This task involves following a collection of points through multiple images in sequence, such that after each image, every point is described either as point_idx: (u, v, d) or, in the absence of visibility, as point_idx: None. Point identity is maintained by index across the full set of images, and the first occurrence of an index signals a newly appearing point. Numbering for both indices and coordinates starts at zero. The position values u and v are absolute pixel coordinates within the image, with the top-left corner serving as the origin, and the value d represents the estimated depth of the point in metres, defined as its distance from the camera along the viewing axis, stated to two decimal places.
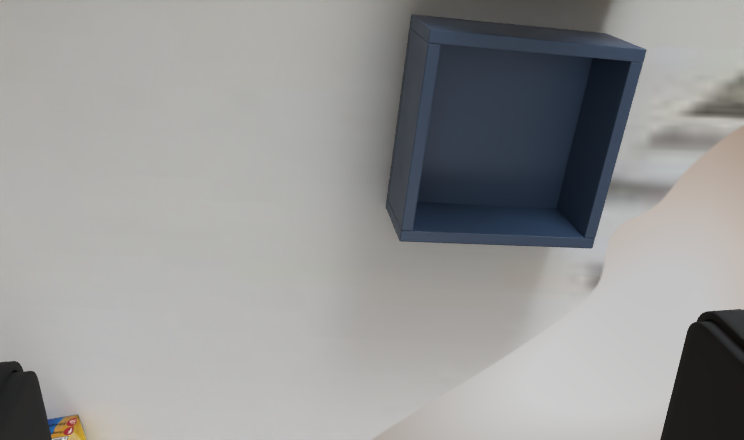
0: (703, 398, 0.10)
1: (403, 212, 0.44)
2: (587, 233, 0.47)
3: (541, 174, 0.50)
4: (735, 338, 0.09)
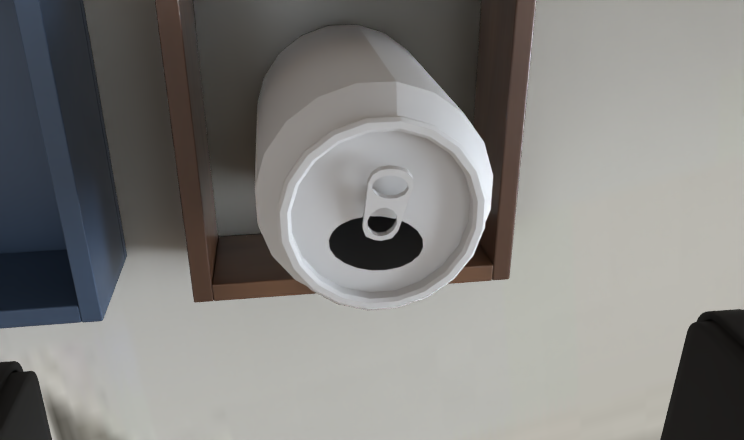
0: (703, 398, 0.10)
1: None
2: None
3: None
4: (735, 339, 0.09)
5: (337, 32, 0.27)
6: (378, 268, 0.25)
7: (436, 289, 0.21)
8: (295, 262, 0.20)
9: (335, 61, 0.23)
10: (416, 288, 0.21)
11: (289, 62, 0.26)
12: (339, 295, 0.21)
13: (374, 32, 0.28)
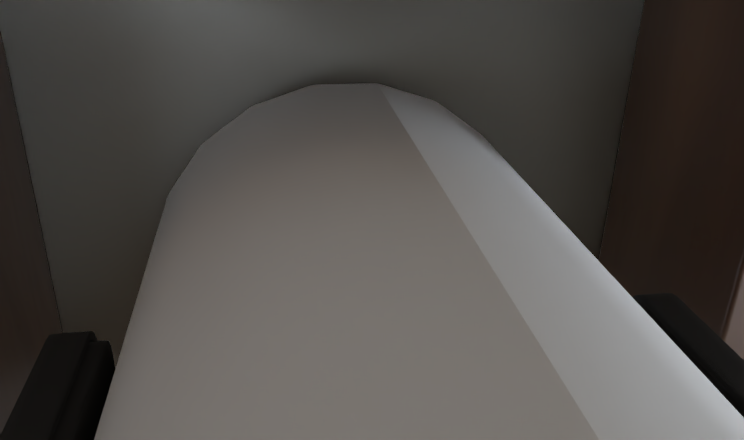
0: None
1: None
2: None
3: None
4: (659, 319, 0.10)
5: (332, 107, 0.11)
6: None
7: None
8: None
9: (325, 242, 0.07)
10: None
11: (208, 190, 0.10)
12: None
13: (417, 103, 0.12)
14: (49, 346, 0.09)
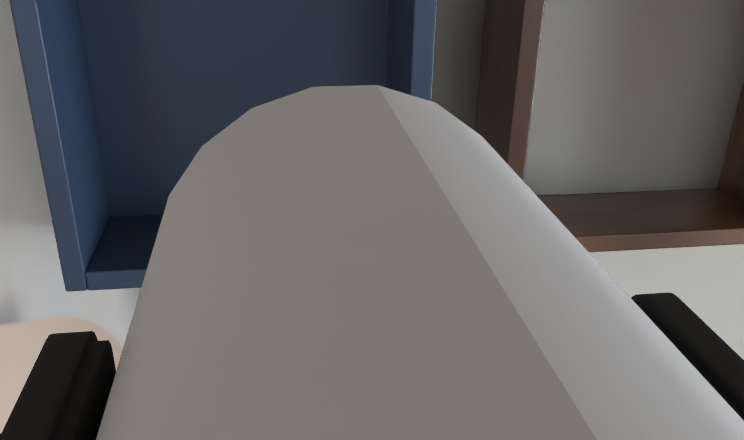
0: None
1: None
2: (94, 275, 0.26)
3: (167, 177, 0.30)
4: (659, 320, 0.10)
5: (332, 110, 0.11)
6: None
7: None
8: None
9: (326, 245, 0.07)
10: None
11: (208, 193, 0.10)
12: None
13: (417, 105, 0.12)
14: (49, 346, 0.09)
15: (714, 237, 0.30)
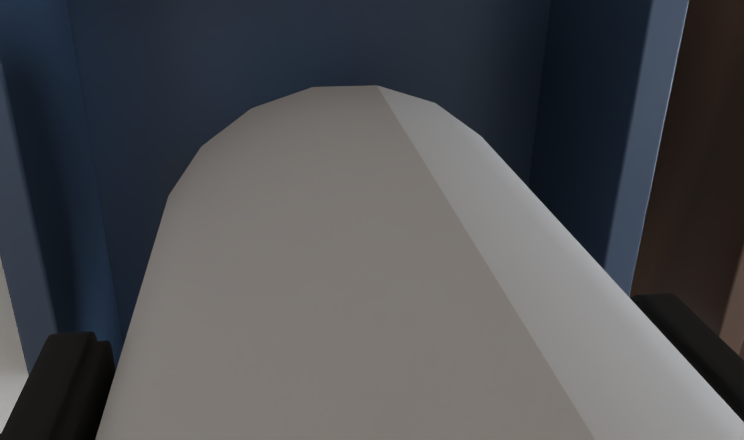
0: None
1: None
2: None
3: None
4: (659, 320, 0.10)
5: (332, 110, 0.11)
6: None
7: None
8: None
9: (325, 246, 0.07)
10: None
11: (208, 193, 0.10)
12: None
13: (416, 105, 0.12)
14: (49, 346, 0.09)
15: None
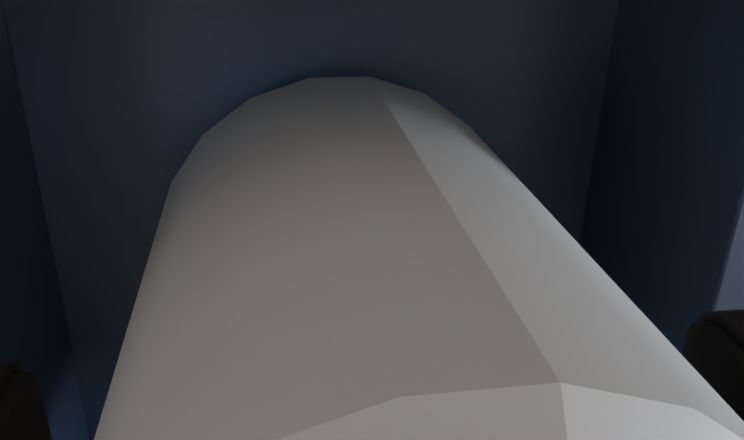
0: None
1: None
2: None
3: None
4: (734, 338, 0.09)
5: (326, 98, 0.12)
6: None
7: None
8: None
9: (318, 215, 0.08)
10: None
11: (209, 175, 0.11)
12: None
13: (406, 95, 0.13)
14: None
15: None
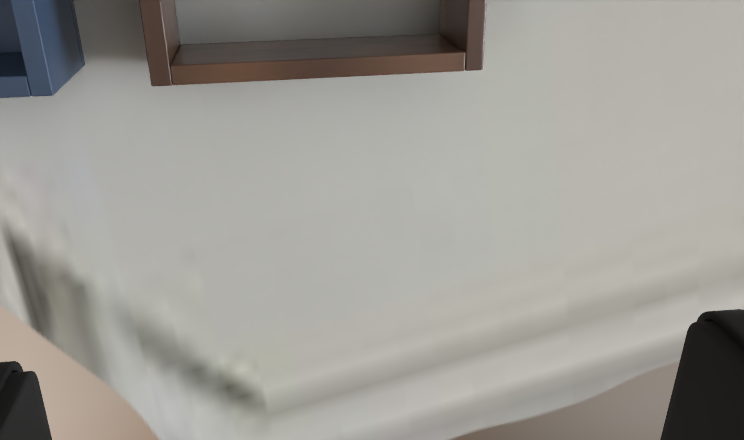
0: (703, 398, 0.10)
1: None
2: None
3: None
4: (735, 338, 0.09)
5: None
6: None
7: None
8: None
9: None
10: None
11: None
12: None
13: None
14: None
15: (396, 64, 0.29)
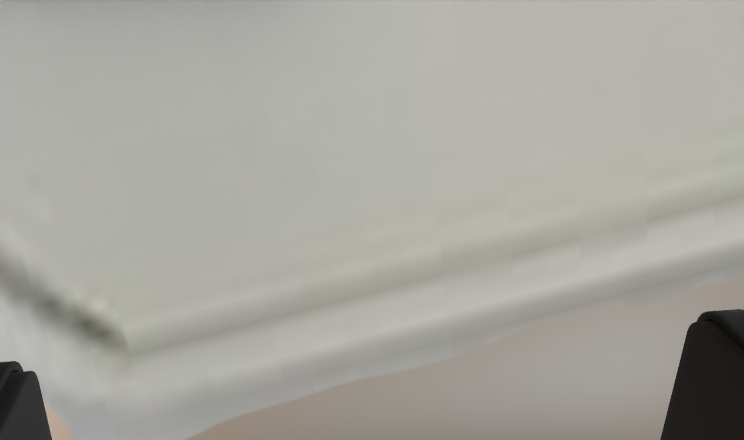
0: (703, 398, 0.10)
1: None
2: None
3: None
4: (734, 338, 0.09)
5: None
6: None
7: None
8: None
9: None
10: None
11: None
12: None
13: None
14: None
15: None
